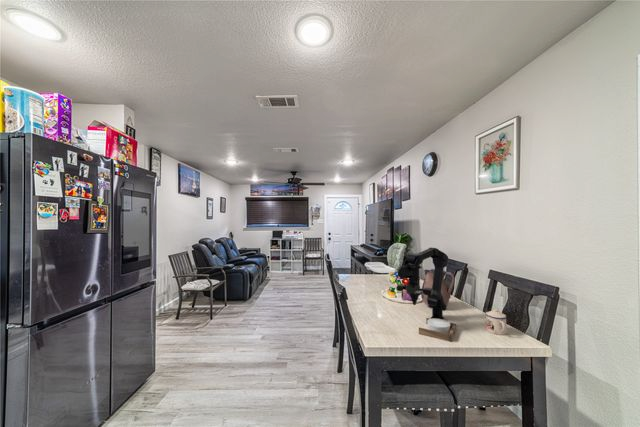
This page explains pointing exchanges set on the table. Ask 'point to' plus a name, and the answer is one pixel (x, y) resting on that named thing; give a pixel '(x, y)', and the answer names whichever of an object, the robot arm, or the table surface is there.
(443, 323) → the ramekin
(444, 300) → the ceramic pitcher
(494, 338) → the table surface
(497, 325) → the teacup with lid
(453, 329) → the walnut dock
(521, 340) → the table surface
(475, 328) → the table surface
